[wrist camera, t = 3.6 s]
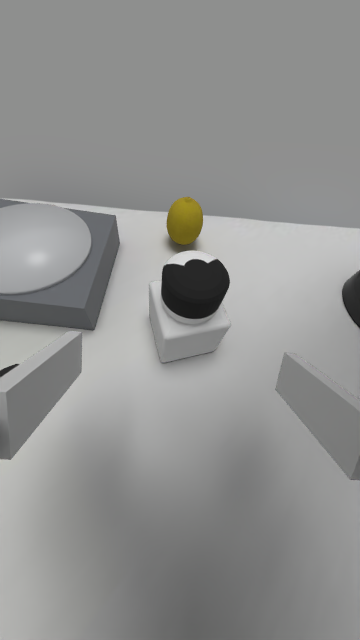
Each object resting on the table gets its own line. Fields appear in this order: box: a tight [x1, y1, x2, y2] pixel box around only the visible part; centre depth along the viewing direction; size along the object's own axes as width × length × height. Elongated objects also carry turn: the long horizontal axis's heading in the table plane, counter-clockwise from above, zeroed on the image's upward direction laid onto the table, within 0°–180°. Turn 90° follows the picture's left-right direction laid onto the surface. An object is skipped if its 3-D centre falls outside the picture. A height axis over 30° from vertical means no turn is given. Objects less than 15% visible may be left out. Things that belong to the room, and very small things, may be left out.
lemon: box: [167, 197, 203, 245], centre depth 34 cm, size 6×6×8 cm
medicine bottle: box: [149, 251, 231, 363], centre depth 24 cm, size 7×7×12 cm
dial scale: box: [0, 199, 120, 330], centre depth 29 cm, size 18×17×6 cm
